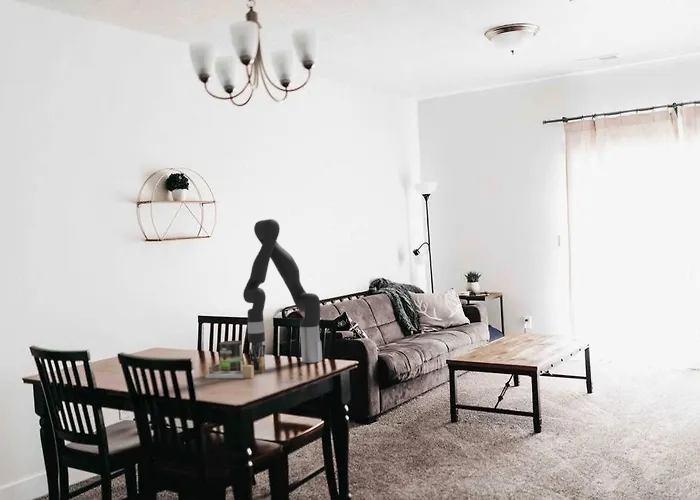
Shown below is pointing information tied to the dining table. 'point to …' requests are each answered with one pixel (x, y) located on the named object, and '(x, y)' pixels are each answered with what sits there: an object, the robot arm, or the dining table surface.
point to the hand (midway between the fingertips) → (258, 369)
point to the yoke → (217, 370)
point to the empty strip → (247, 373)
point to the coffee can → (231, 356)
